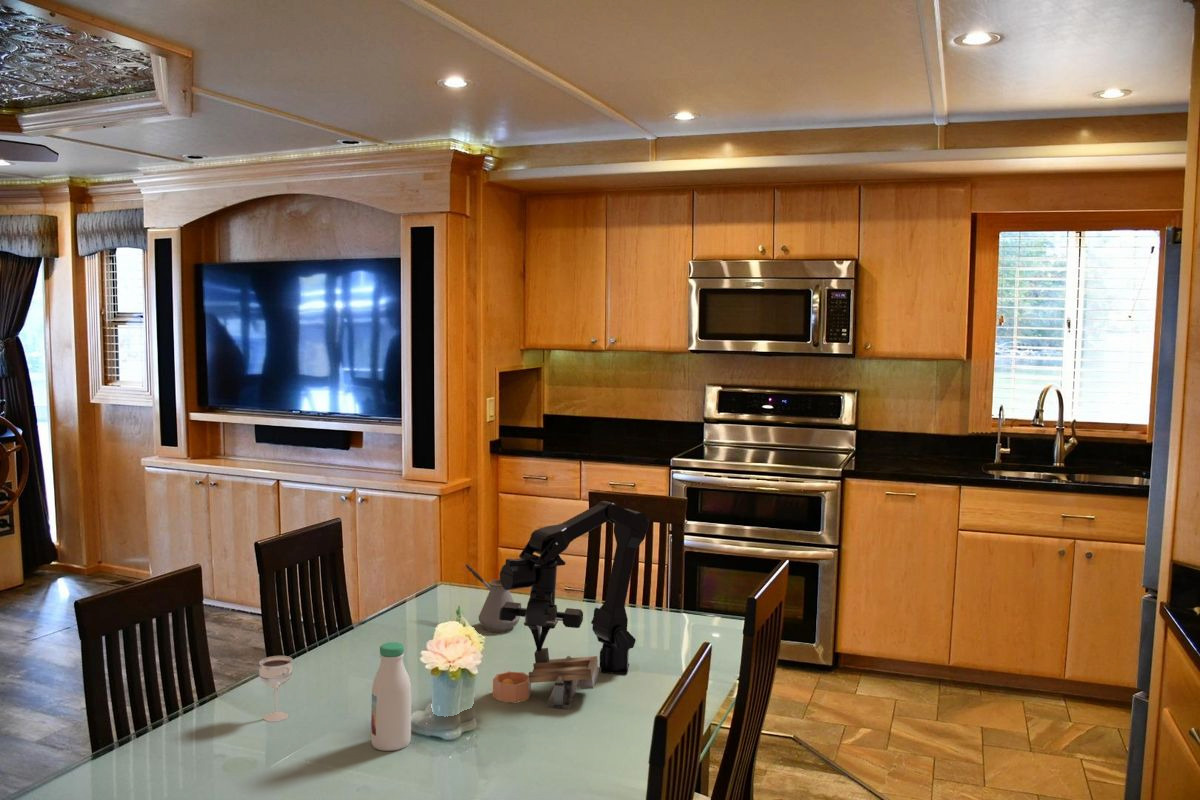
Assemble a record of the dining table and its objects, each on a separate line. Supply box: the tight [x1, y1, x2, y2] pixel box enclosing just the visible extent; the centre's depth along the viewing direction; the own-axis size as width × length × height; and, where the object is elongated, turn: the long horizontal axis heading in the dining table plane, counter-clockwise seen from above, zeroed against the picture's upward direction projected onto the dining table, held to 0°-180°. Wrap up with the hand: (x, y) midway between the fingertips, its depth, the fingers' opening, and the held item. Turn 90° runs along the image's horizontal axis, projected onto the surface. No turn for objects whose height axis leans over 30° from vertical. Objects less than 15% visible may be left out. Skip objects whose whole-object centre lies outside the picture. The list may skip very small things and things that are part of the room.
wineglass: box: [258, 655, 294, 723], centre depth 193 cm, size 7×7×12 cm
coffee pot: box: [462, 564, 521, 633], centre depth 258 cm, size 21×12×15 cm, turn 46°
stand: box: [546, 680, 579, 710], centre depth 209 cm, size 5×15×5 cm, turn 173°
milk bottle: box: [370, 641, 412, 752], centre depth 182 cm, size 8×8×20 cm
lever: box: [528, 647, 599, 690], centre depth 208 cm, size 14×14×7 cm
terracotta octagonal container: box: [492, 671, 532, 703], centre depth 208 cm, size 8×8×4 cm
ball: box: [501, 679, 514, 684], centre depth 208 cm, size 3×3×3 cm
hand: (539, 650), depth 212 cm, fingers closed, pressing on lever
